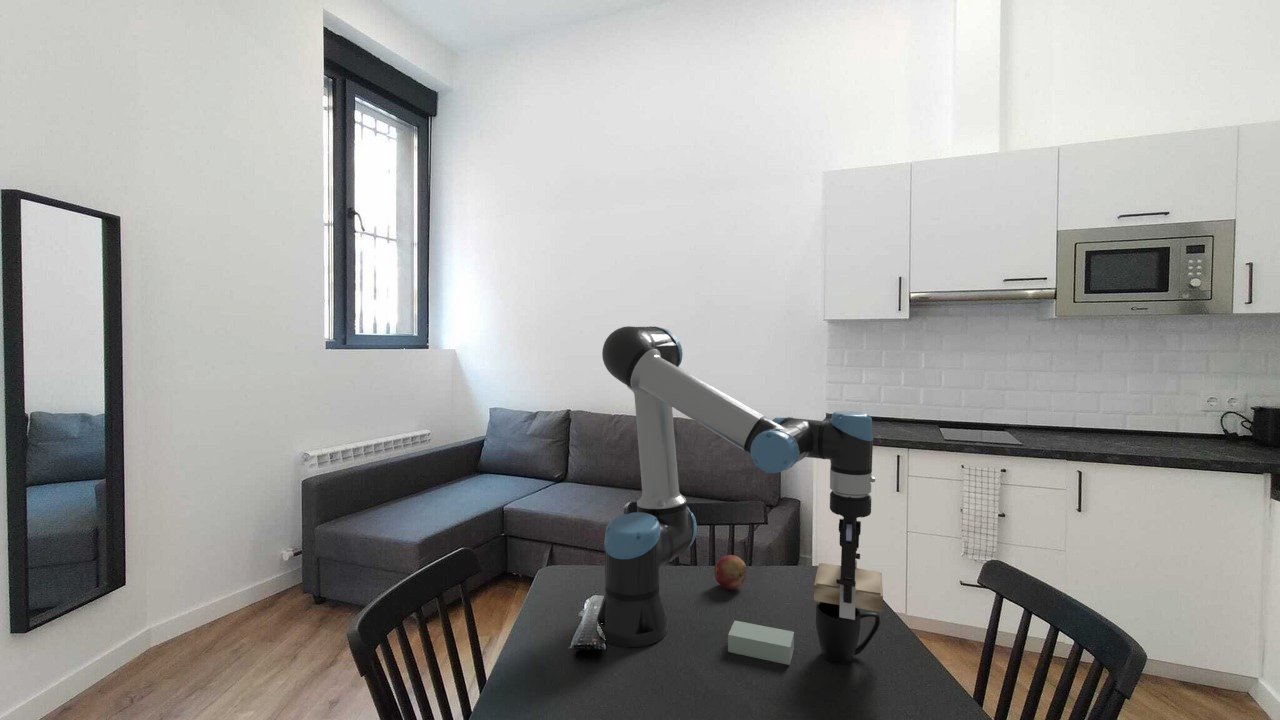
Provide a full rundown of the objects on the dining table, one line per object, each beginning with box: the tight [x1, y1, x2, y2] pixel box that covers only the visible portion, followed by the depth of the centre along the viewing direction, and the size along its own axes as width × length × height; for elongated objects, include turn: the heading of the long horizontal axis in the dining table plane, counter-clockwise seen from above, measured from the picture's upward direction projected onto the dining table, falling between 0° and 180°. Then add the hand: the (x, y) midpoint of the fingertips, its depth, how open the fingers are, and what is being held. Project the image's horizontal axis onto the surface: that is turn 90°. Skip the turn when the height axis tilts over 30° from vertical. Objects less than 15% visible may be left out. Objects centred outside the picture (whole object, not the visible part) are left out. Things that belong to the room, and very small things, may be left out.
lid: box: [813, 562, 884, 613], centre depth 111 cm, size 12×11×3 cm
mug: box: [815, 601, 881, 665], centre depth 111 cm, size 8×12×10 cm
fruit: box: [713, 554, 747, 590], centre depth 141 cm, size 8×8×8 cm
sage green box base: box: [727, 620, 795, 666], centre depth 114 cm, size 12×6×4 cm, turn 68°
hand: (848, 603), depth 111 cm, fingers closed on lid, 11 cm apart
